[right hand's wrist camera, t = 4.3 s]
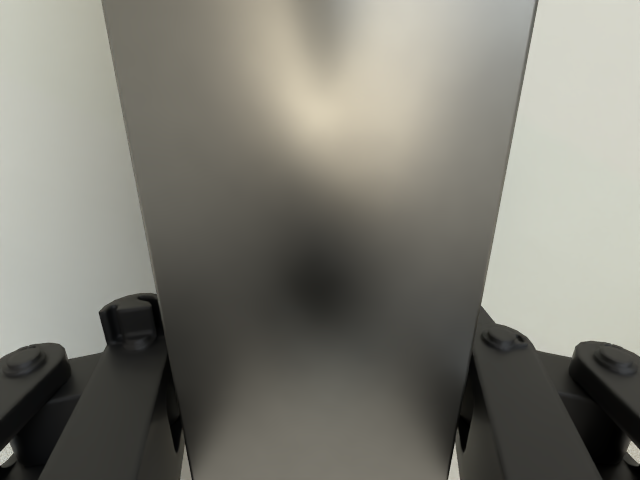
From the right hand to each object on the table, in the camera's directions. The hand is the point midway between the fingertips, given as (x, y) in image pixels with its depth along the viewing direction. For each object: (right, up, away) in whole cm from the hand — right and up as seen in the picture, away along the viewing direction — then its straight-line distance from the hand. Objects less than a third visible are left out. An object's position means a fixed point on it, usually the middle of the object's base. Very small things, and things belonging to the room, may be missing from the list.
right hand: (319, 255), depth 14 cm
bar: (0, +8, -3) cm, 9 cm away
